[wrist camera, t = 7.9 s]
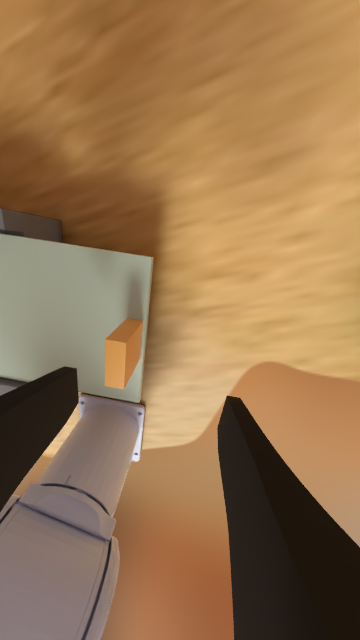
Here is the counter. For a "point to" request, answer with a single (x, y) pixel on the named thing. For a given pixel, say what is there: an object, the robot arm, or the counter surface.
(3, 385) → the parts tub
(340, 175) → the counter surface
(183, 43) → the counter surface
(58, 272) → the lid
